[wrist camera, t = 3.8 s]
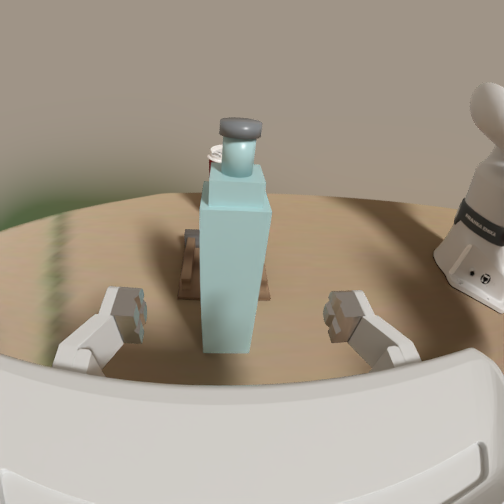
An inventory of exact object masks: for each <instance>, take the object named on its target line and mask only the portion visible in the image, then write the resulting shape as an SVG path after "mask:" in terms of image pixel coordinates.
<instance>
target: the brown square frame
mask: <svg viewBox="0 0 504 504" xmlns="http://www.w3.org/2000/svg"><path fill="white" fill-rule="evenodd" d="M184 235H185V251H184V257H183V263H182V270H181V277H180V283H179V290H178V299H197V300H201V291H200V230H193V229H185V234H184ZM267 281H268V280H267V275H266V270H265V264H264V266H263V273H262V279H261V285H260V291H259V297H258V300H270V299H271V298H270V293H269V288H268V282H267Z"/></svg>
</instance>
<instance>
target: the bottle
mask: <svg viewBox="0 0 504 504" xmlns="http://www.w3.org/2000/svg"><path fill="white" fill-rule="evenodd" d="M261 130H262V122H260V121H257V120H253V119H248V118H223V119H221V120H220V131H219V134H220V135H222V136H223V147H222V163H217V162H211V170H210V179H209V182H207V181H204V184H203V190H202V197H201V204H200V291H201V319H202V340H203V353H249V350H250V344H251V338H252V332H253V326H254V321H255V315H256V309H257V303H258V297H259V291H260V285H261V279H262V273H263V266H264V260H265V254H266V248H267V242H268V235H269V229H270V223H271V216H272V211H271V207H270V204H269V201H268V198H267V194H266V191H265V188H266V181H265V178H264V175H263V173H262V170H261V167H260V165H255V164H254V155H255V146H256V139H257V138H259V137H261Z"/></svg>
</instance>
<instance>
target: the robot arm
mask: <svg viewBox="0 0 504 504" xmlns="http://www.w3.org/2000/svg"><path fill="white" fill-rule="evenodd" d="M470 111H471V116H472V119H473V121H474V123H475V125H476V126H477V127H478V128H479V129H480V130H481V131H482V132H483V133H484V134H485V135H486V136H487V137H488V138H489V139H490V140H491V141H492V142H493V143H494V144H495V147H494V149H493V151H492V152H491V154H490V155H489V156H488V158H487V159H485V160H484V161H482V162H481V163H480V164H479V165H478V166H477V168H476V170H475V173H474V176H473V179H472V182H471V184H470V187H469V190H468V193H467V195H466V198H464V199H463V201H462V203H461V204H460V206H459V208H458V211H457V213H456V216H455V218H454V219H455V220H454V224H453V226H452V228H451V229H450V231H449V233H448V234H447V236H446V237H445V239H444V240H443V241H442V243H441V244H440V245H439V246H438V247H437V248H436V249H435V250H434V258H435V261H436V263H437V264H438V266H439V267H440V269H441V270H442V271H443V272H444V274H445V275H446V277H447V280H448V282H449V283H450V285H451V286H453V287H454V288H456V289H458V290H460V291H462V292H464V293H466V294H467V295H469V296H471V297H473V298H475V299H476V300H478V301H480V302H482V303H483V304H485V305H487V306H489V307H490V308H492V309H494V310H496V311H497V312H499V313H504V87H502V86H500V85H497V84H495V83H490V82H489V83H483V84H481V85H479V86H478V87H477V88H476V89H475V91H474V92H473V94H472V97H471V101H470ZM143 298H144V292H143V289H141V288H128V287H114V286H109V287H108V288H107V291H106V293H105V296H104V299H103V302H102V305H101V307H100V310H99V313H98V314H95V315H93V316H92V317H91V318H90V319H89V320H87V321H86V322H85V323H84V324H83V325H81V326H80V327H79V328H78V329H77V330H75V331H74V332H73V333H72V334H71V335H70V336H68V337H67V338H66V339H65V340H64V341H63V342H61V343H60V344H59V347H58V350H57V353H56V356H55V359H54V362H53V365H52V367H48V366H44V365H40V364H36V363H32V362H28V361H24V360H21V359H17V358H14V357H10V356H7V355H4V354H0V504H504V375H503V373H502V372H501V370H500V369H499V367H498V366H497V365H496V363H495V362H494V361H493V360H491V359H490V358H488V357H487V356H486V355H484V354H483V353H482V352H480V351H478V350H477V349H475V348H467V349H464V350H461V351H458V352H454V353H451V354H448V355H444V356H441V357H437V358H433V359H430V360H426V361H421V358H420V356H419V354H418V352H417V350H416V348H415V346H414V344H413V342H412V341H411V340H409V339H408V338H407V337H405V336H404V335H403V334H401V333H400V332H399V331H398V330H396V329H395V328H394V327H392V326H391V325H390V324H388V323H387V322H386V321H384V320H383V319H382V318H380V317H379V316H378V315H377V316H375V314H374V312H373V310H372V308H371V306H370V304H369V302H368V300H367V298H366V296H365V294H364V292H363V291H362V290H352V291H332V292H331V293H330V294H329V297H328V298H329V302H328V303H326V304H325V307H324V311H323V317H324V322H325V324H326V325H327V326H328V327H329V330H328V334H329V337H330V340H331V343H341V342H348V344H349V345H350V346H351V347H352V348H353V349H354V350H355V351H356V352H357V353H358V354H359V355H360V356H361V357H362V358H363V359H364V360H365V361H366V362H367V363H368V364H369V365H370V366H371V367H372V369H371V370H370V371H369V373H365V374H359V375H352V376H346V377H339V378H331V379H323V380H315V381H305V382H294V383H281V384H263V385H182V384H165V383H152V382H141V381H131V380H123V379H115V378H107V377H105V375H104V373H103V372H102V369H103V367H104V366H105V365H106V364H107V363H108V362H109V360H110V359H111V358H112V357H113V356H114V355H115V353H116V352H117V351H118V350H119V349H120V347H121V346H122V345H123V343H134V344H142V340H143V335H144V329H143V325H144V324H146V319H147V306H146V302H145V301H144V300H143Z"/></svg>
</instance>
